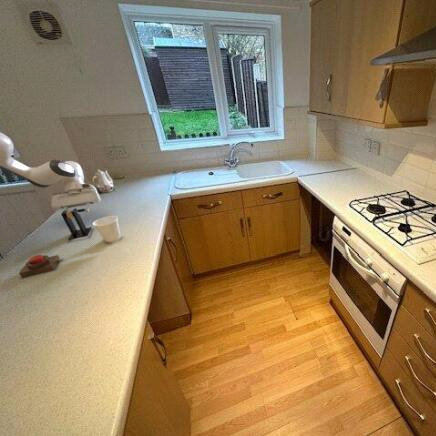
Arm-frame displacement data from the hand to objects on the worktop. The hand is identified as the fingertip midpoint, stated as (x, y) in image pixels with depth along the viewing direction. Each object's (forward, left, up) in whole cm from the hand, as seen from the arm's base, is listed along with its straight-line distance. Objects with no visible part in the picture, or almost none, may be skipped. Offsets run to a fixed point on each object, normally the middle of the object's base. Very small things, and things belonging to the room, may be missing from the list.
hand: (78, 213), depth 126 cm
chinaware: (-2, +63, -9) cm, 64 cm away
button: (-8, -34, -5) cm, 35 cm away
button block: (-8, -34, -9) cm, 36 cm away
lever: (0, -5, +1) cm, 5 cm away
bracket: (0, -9, -9) cm, 13 cm away
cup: (+16, -23, -9) cm, 29 cm away
